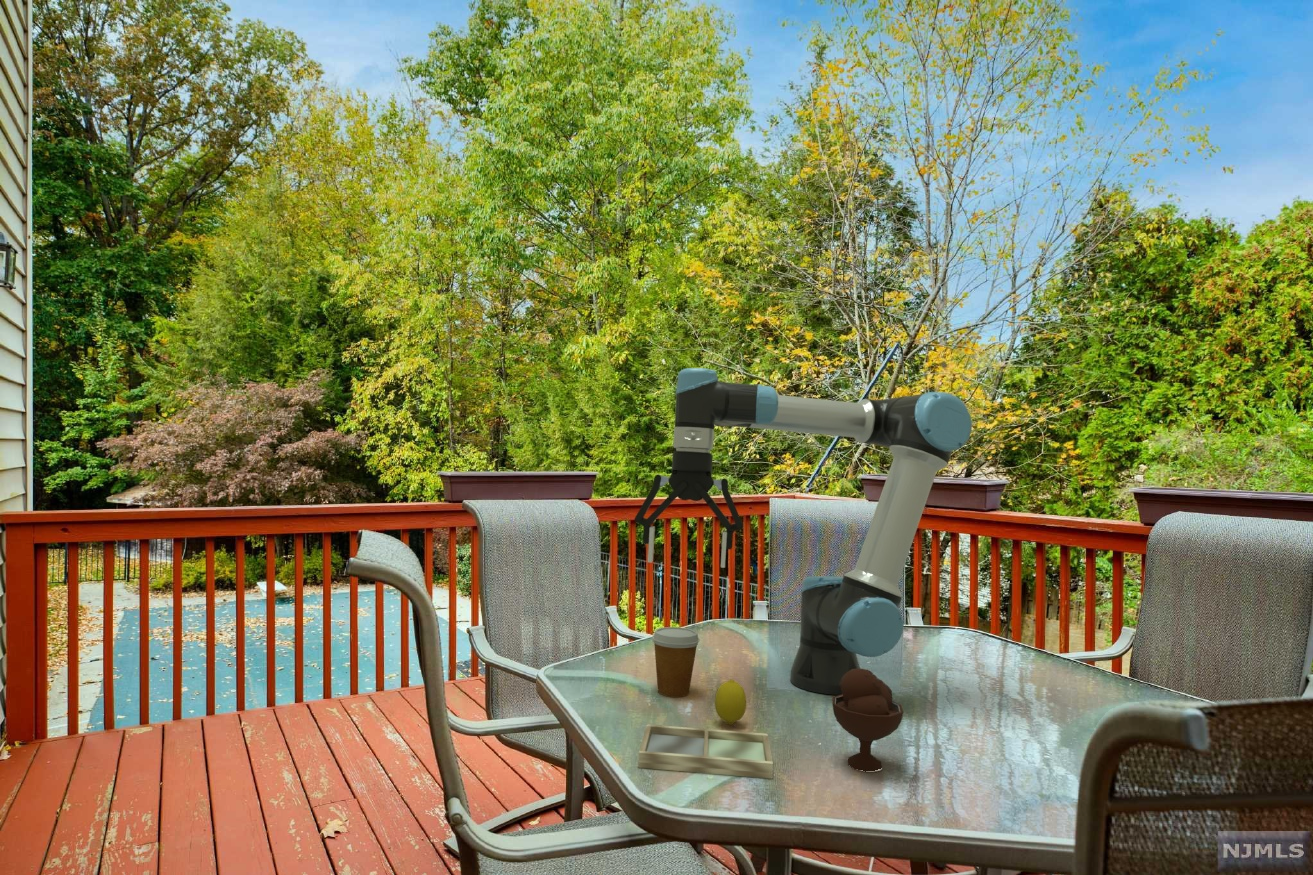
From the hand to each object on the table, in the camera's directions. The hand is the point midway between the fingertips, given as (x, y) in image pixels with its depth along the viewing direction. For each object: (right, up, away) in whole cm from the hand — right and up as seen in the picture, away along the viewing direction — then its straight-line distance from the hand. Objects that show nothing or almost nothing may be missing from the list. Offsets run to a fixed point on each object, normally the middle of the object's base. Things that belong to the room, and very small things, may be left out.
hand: (686, 564), depth 137 cm
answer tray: (+2, -27, -22) cm, 34 cm away
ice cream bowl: (+27, -28, -22) cm, 45 cm away
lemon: (+7, -28, -7) cm, 29 cm away
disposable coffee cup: (-2, -28, +10) cm, 29 cm away
